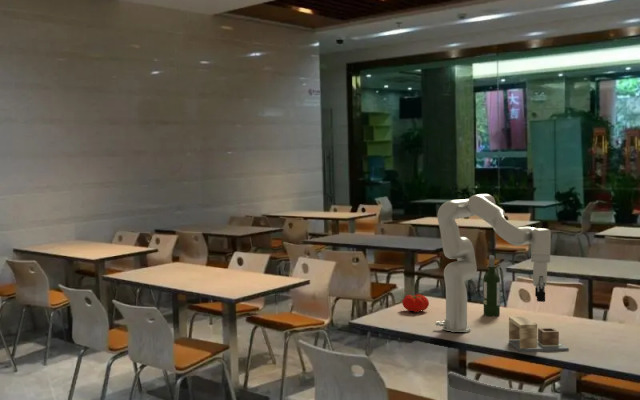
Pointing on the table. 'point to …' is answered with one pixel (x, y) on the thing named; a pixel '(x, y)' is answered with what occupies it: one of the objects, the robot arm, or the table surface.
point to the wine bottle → (491, 290)
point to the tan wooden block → (523, 331)
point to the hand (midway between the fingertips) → (540, 299)
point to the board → (539, 347)
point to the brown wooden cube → (548, 336)
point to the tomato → (415, 302)
